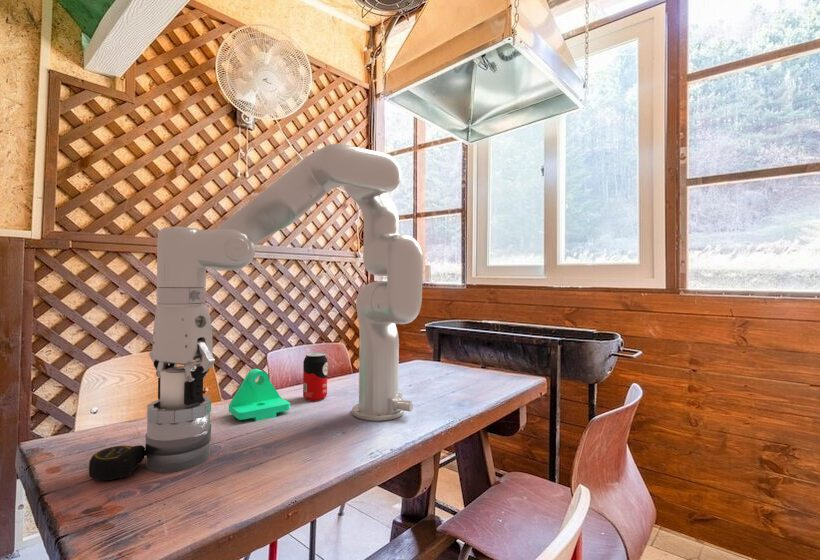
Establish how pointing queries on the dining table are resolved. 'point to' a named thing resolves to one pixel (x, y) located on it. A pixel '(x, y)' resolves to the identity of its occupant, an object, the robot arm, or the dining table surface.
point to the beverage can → (315, 376)
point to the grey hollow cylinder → (177, 436)
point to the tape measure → (115, 462)
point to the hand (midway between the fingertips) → (180, 399)
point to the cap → (173, 388)
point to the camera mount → (257, 398)
